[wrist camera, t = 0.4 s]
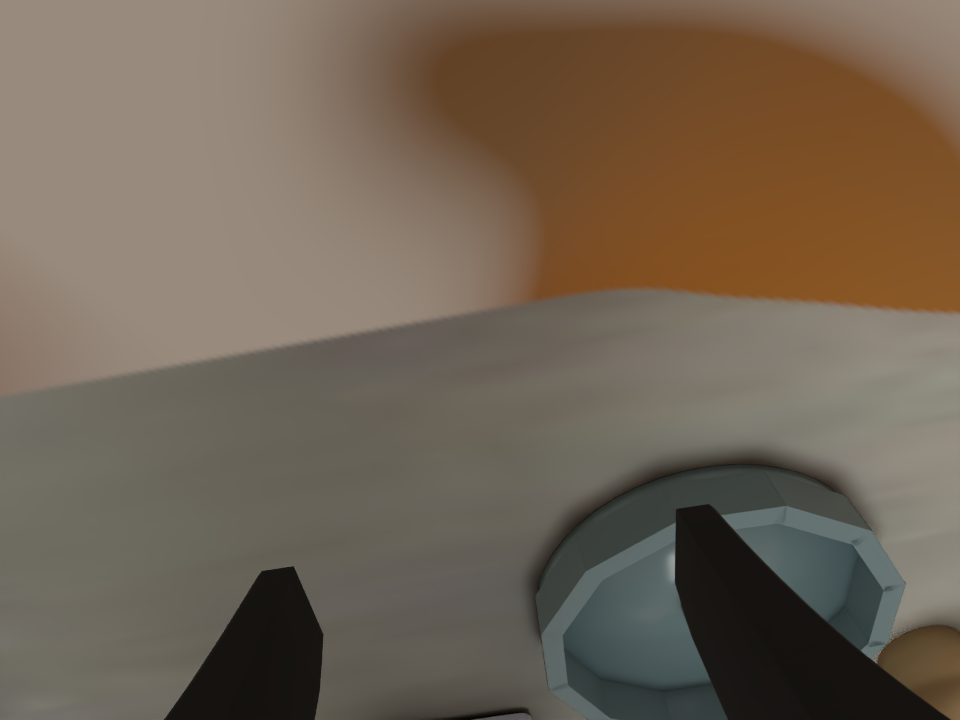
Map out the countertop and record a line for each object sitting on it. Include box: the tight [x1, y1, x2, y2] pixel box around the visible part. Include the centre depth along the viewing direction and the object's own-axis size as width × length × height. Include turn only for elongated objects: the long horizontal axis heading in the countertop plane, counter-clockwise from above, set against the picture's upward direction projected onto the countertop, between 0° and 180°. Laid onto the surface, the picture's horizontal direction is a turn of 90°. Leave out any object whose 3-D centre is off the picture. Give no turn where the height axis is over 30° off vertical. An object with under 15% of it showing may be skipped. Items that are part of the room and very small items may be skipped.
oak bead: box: [878, 626, 960, 720], centre depth 30 cm, size 4×4×5 cm
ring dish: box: [535, 465, 906, 720], centre depth 27 cm, size 14×14×2 cm
